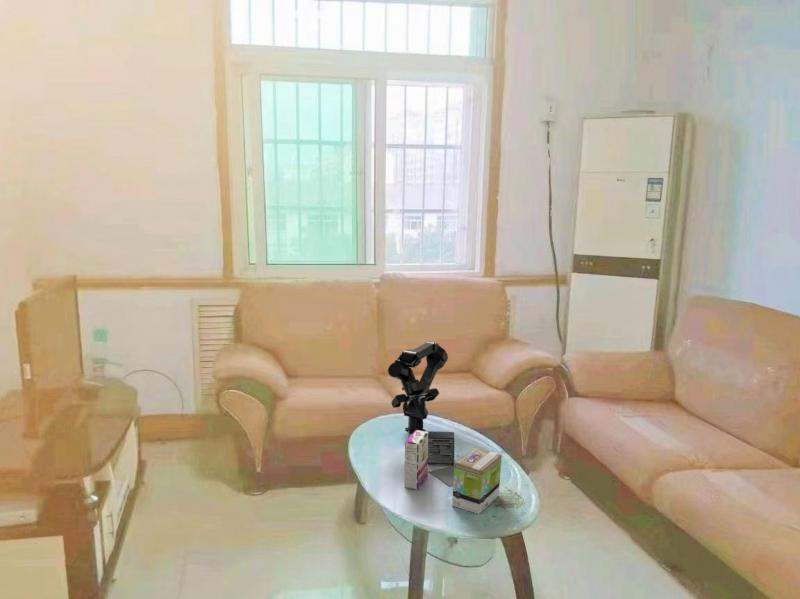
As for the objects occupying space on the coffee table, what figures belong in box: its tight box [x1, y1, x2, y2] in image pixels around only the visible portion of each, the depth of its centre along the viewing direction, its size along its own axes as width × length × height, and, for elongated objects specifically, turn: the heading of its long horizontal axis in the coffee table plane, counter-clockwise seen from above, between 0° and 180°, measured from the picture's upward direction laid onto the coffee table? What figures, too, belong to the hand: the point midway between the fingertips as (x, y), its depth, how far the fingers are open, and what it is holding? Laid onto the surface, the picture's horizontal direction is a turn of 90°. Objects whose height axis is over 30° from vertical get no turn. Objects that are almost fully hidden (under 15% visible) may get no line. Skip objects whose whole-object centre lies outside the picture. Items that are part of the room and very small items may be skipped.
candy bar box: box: [404, 430, 429, 491], centre depth 208 cm, size 11×5×16 cm, turn 160°
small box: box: [426, 430, 455, 466], centre depth 225 cm, size 11×6×10 cm, turn 84°
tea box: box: [451, 446, 502, 515], centre depth 197 cm, size 15×10×15 cm, turn 148°
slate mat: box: [428, 464, 455, 487], centre depth 216 cm, size 12×16×1 cm
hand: (423, 417), depth 233 cm, fingers closed
